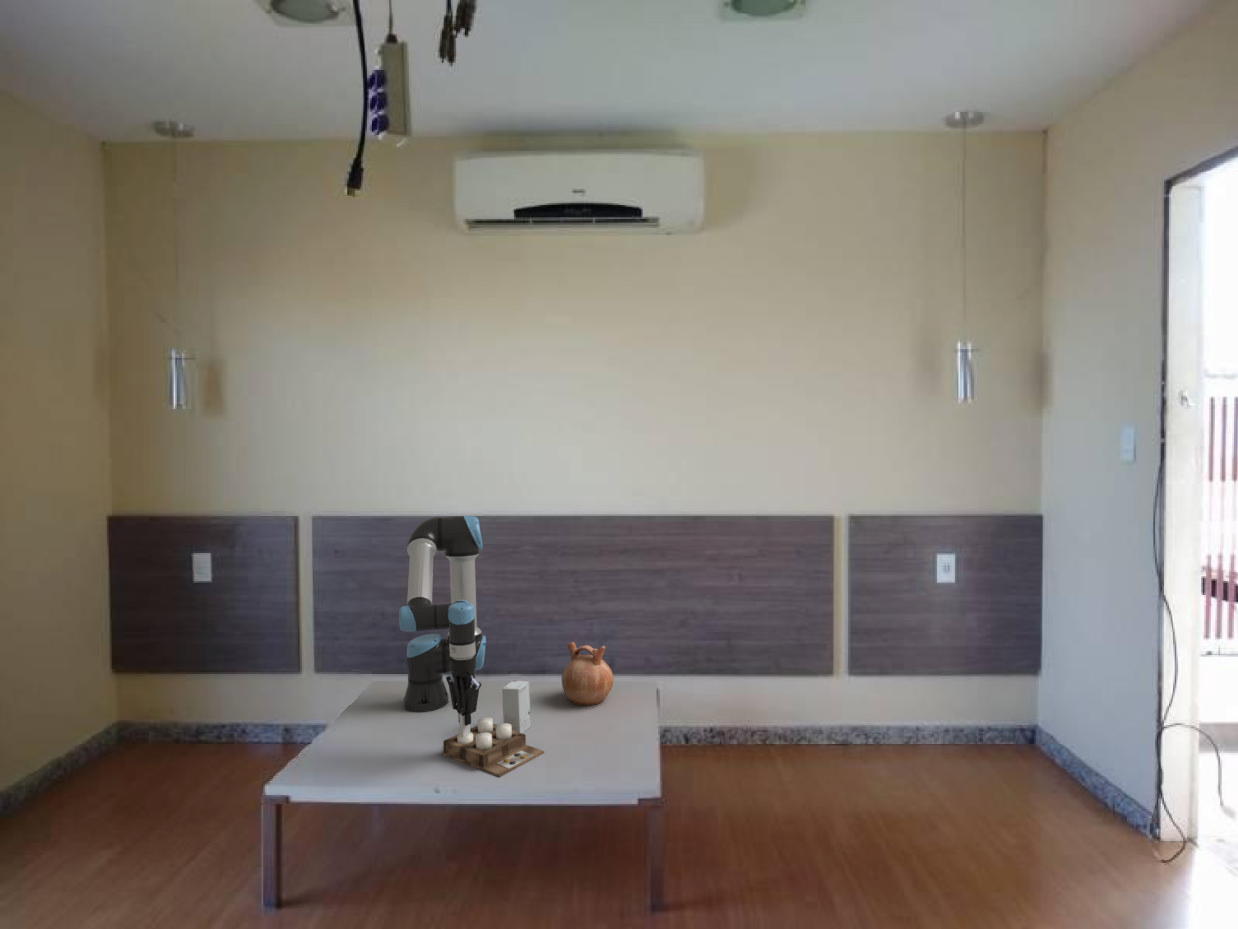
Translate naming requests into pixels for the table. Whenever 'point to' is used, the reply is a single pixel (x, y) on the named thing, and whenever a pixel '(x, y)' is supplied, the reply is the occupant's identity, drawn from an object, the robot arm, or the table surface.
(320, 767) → the table surface
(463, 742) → the button
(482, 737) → the button
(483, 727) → the button
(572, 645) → the jug
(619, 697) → the table surface
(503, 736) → the button
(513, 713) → the skincare box
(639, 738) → the table surface
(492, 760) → the board
